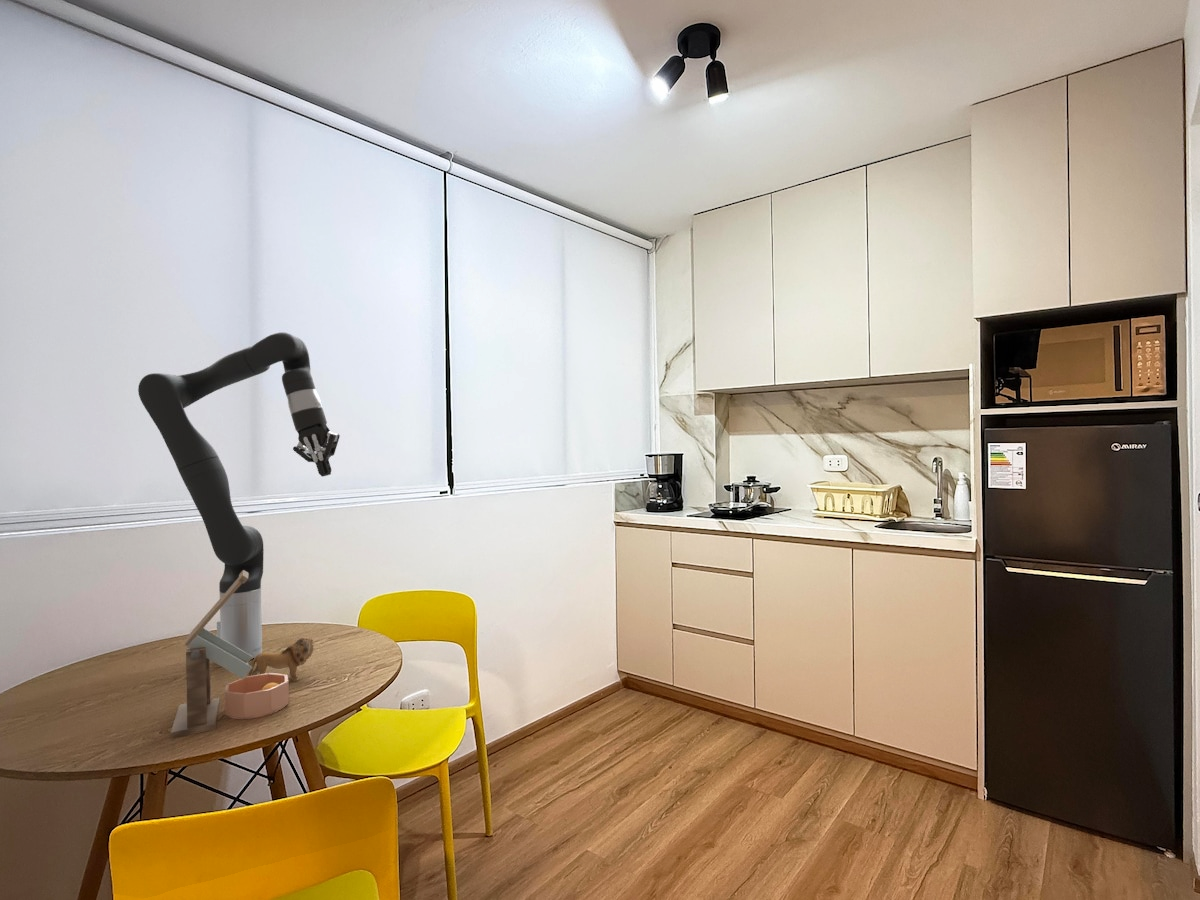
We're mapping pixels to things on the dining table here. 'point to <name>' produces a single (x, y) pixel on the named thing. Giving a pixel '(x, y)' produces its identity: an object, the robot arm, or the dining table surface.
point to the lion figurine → (284, 658)
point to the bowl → (256, 696)
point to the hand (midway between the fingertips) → (326, 475)
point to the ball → (269, 686)
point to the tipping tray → (217, 646)
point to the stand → (196, 697)
